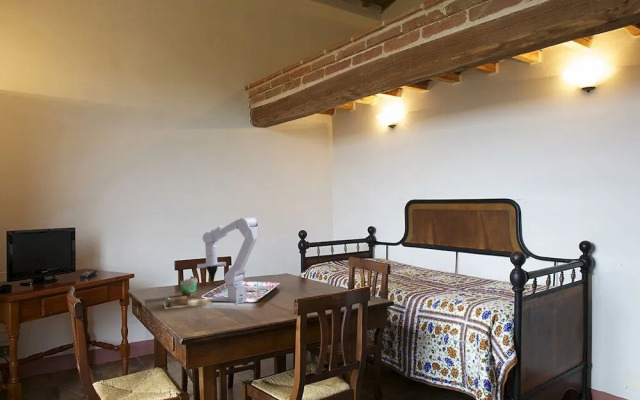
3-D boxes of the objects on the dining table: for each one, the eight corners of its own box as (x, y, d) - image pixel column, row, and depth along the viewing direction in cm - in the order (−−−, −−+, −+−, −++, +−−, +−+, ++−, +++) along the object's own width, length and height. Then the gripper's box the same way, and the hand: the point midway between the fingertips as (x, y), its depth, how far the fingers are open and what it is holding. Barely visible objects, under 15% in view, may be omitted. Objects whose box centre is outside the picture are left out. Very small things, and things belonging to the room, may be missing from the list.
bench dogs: (169, 304, 224) (169, 296, 224) (170, 306, 218) (170, 299, 218) (165, 304, 223) (164, 297, 223) (165, 307, 217) (165, 300, 217)
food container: (191, 300, 237) (190, 281, 236) (180, 300, 238) (179, 280, 238) (202, 294, 249) (201, 276, 248) (191, 294, 250) (191, 276, 250)
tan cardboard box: (186, 302, 227) (186, 296, 227) (187, 304, 221) (187, 298, 221) (169, 304, 224) (169, 297, 224) (170, 306, 218) (170, 300, 218)
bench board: (209, 301, 234) (209, 298, 234) (212, 306, 223) (212, 303, 223) (163, 306, 225) (163, 303, 225) (165, 312, 214) (165, 309, 214)
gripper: (224, 252, 244) (224, 278, 244) (196, 255, 239) (197, 280, 239) (226, 254, 238) (227, 280, 238) (197, 256, 232) (198, 283, 233)
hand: (212, 280), depth 238 cm, fingers closed
